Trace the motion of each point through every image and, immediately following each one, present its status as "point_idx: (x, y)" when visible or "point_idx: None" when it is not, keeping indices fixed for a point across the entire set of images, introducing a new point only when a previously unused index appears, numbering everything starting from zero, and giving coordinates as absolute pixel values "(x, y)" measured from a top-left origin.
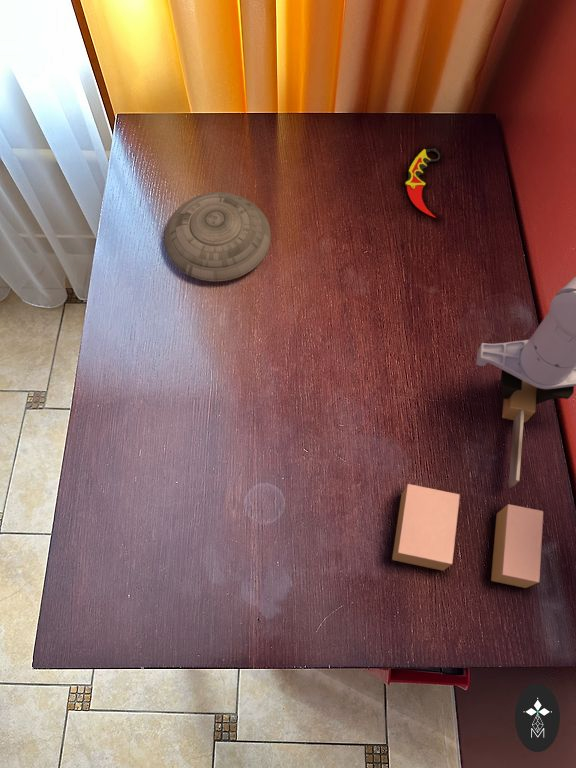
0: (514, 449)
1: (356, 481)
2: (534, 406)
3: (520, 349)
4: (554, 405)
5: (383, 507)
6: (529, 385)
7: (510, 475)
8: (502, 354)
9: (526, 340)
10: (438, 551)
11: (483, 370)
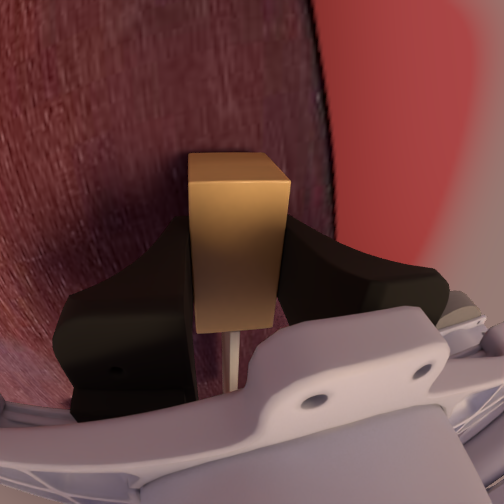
0: (225, 371)
1: (16, 388)
2: (270, 314)
3: (129, 481)
4: (331, 198)
5: (62, 408)
6: (255, 257)
7: (223, 387)
8: (52, 489)
9: (147, 469)
10: None
11: (125, 136)
